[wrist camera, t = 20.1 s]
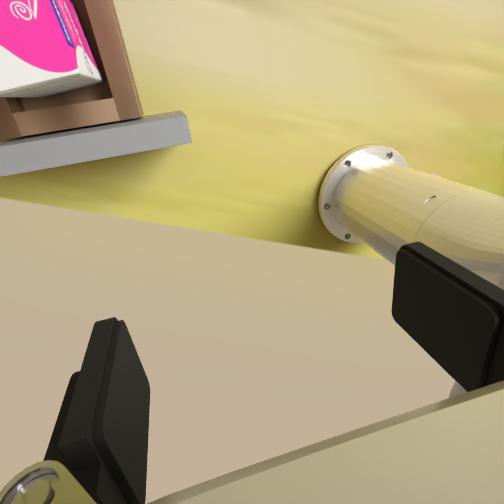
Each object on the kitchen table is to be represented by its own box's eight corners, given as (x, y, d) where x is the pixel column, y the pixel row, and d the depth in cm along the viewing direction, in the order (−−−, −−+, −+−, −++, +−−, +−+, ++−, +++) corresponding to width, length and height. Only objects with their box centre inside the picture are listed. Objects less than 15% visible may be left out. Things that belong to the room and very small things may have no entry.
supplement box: (108, 82, 30) (81, 77, 20) (42, 98, 29) (-22, 101, 19) (79, 5, 27) (30, -47, 17) (5, 20, 26) (-92, -24, 16)
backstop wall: (181, 110, 33) (186, 116, 25) (185, 131, 34) (192, 142, 26) (11, 138, 31) (-41, 153, 23) (21, 159, 32) (-26, 181, 24)
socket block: (103, -36, 27) (94, -56, 24) (143, 114, 32) (140, 117, 29) (-52, -22, 25) (-87, -41, 22) (17, 134, 31) (-2, 140, 27)
